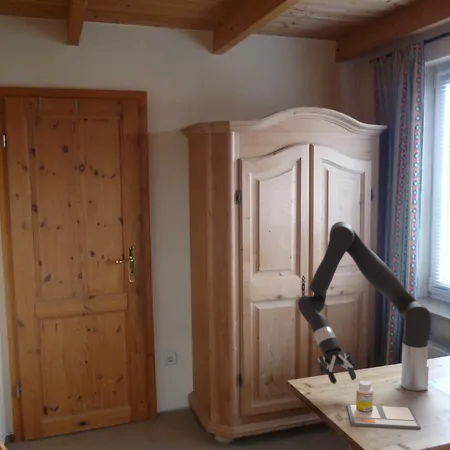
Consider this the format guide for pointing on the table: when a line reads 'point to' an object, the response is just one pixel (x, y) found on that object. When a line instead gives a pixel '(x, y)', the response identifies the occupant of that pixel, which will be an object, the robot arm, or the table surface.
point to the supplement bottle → (364, 398)
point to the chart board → (384, 417)
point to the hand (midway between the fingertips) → (344, 381)
